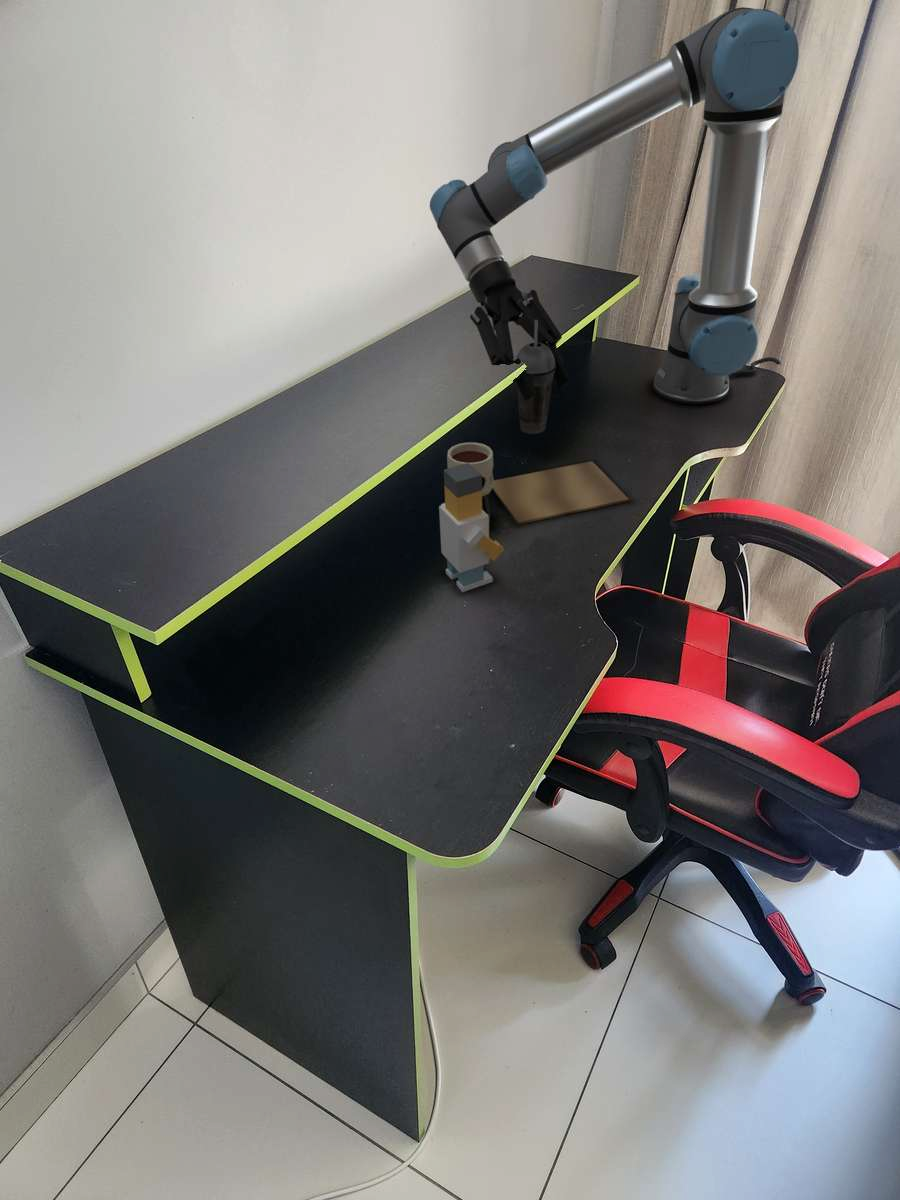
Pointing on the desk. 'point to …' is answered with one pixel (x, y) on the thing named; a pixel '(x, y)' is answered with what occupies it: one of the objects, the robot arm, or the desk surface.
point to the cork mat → (557, 492)
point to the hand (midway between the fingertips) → (548, 389)
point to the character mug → (475, 465)
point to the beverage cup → (536, 385)
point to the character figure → (466, 528)
